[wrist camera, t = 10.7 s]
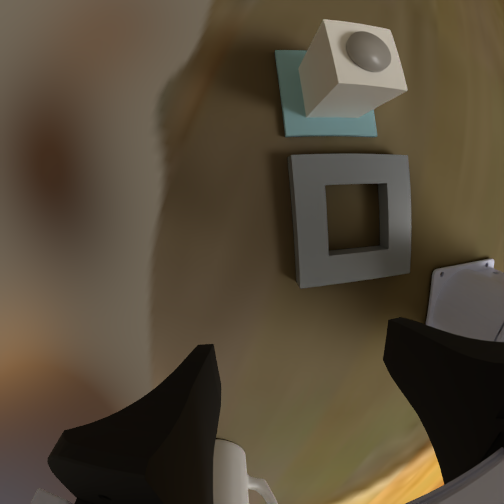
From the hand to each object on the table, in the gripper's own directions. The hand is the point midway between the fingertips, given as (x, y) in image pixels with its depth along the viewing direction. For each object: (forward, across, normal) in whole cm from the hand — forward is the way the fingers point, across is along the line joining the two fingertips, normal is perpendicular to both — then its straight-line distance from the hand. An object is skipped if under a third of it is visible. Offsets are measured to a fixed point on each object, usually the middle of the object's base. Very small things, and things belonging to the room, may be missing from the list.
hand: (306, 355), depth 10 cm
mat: (+10, -5, -14) cm, 18 cm away
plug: (+10, -5, -13) cm, 17 cm away
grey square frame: (+10, -6, -4) cm, 13 cm away
